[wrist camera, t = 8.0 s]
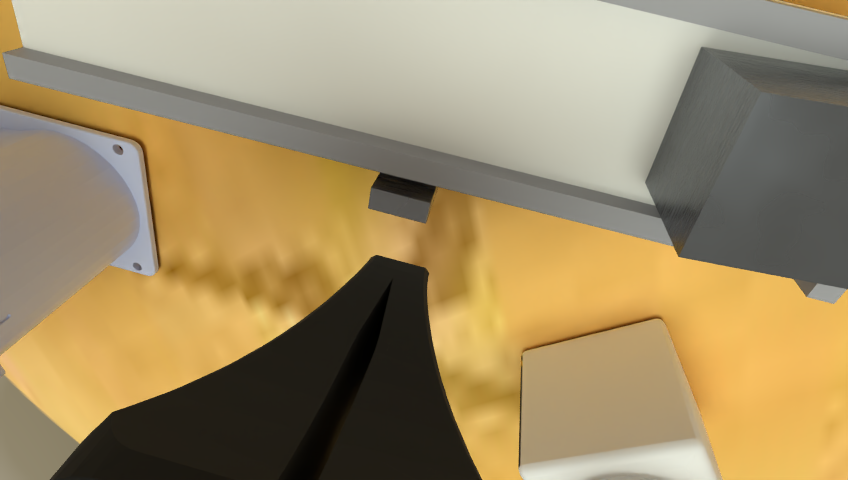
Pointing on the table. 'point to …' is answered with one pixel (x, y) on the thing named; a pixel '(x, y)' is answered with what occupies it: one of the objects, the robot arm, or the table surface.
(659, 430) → the medicine bottle
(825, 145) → the block
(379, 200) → the pivot stand
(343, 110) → the beam
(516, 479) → the table surface
